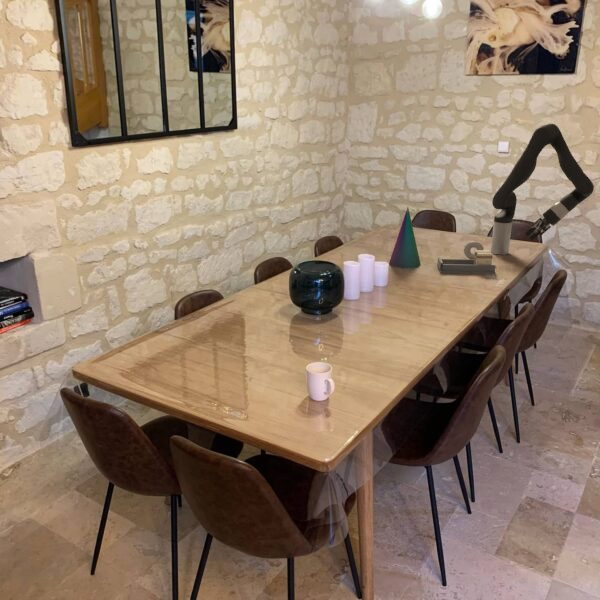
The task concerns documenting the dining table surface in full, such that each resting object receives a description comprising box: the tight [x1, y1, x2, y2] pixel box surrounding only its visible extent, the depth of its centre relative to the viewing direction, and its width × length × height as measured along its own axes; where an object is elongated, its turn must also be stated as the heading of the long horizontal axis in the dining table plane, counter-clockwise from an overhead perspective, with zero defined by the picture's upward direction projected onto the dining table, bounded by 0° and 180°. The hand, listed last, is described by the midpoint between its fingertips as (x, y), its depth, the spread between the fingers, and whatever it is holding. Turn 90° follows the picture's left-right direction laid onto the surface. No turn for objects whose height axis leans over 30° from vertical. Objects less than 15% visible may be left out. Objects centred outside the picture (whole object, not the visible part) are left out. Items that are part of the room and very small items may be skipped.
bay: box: [436, 256, 497, 275], centre depth 289 cm, size 14×26×5 cm, turn 85°
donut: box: [463, 240, 485, 259], centre depth 306 cm, size 10×4×10 cm, turn 76°
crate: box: [474, 249, 494, 265], centre depth 288 cm, size 7×7×8 cm
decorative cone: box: [388, 206, 422, 269], centre depth 296 cm, size 16×16×30 cm
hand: (527, 237), depth 282 cm, fingers open, 8 cm apart
